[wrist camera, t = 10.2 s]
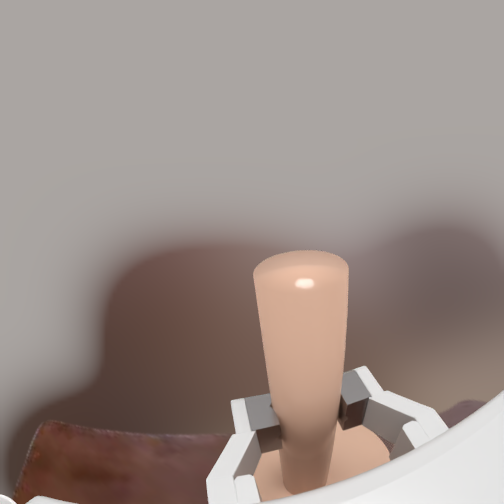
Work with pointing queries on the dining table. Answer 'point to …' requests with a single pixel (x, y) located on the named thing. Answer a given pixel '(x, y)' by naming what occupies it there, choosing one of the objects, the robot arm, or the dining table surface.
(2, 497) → the dixie cup
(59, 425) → the dining table surface
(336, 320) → the peg on round base
